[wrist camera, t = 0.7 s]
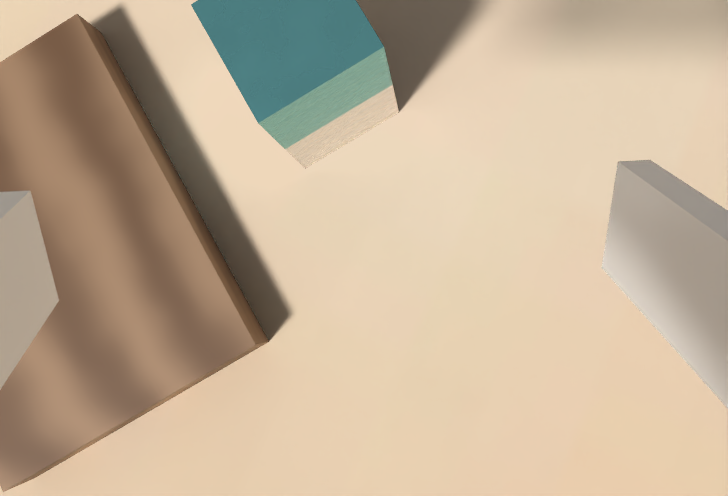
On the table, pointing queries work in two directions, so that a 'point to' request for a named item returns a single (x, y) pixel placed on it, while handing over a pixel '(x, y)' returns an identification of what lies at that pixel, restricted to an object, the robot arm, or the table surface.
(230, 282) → the walnut stand
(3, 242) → the robot arm
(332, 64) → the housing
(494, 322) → the table surface
